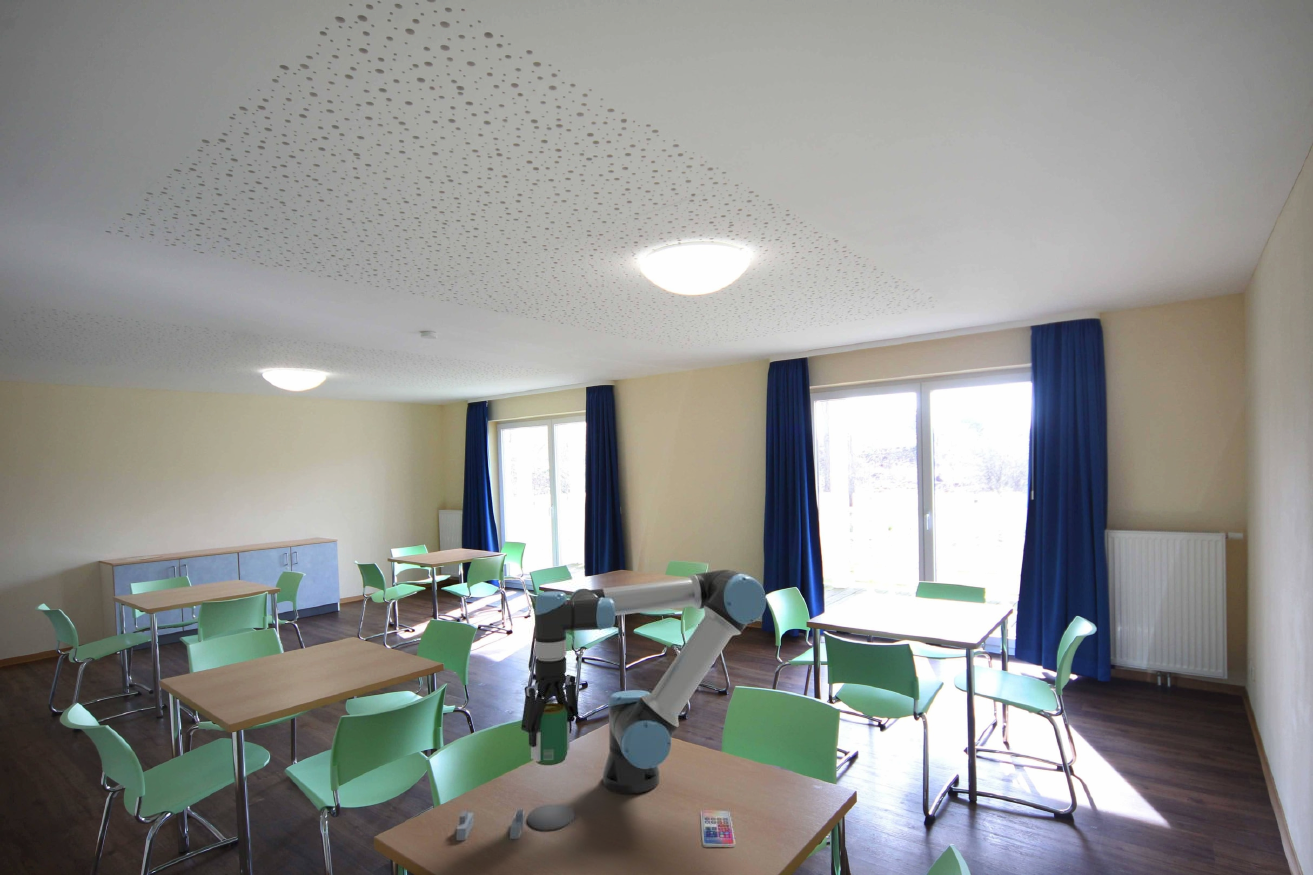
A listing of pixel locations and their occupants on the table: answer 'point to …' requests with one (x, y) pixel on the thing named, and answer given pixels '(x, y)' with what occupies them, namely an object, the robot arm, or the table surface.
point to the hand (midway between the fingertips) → (550, 753)
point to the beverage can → (553, 734)
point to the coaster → (550, 817)
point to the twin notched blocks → (468, 822)
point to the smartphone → (716, 828)
